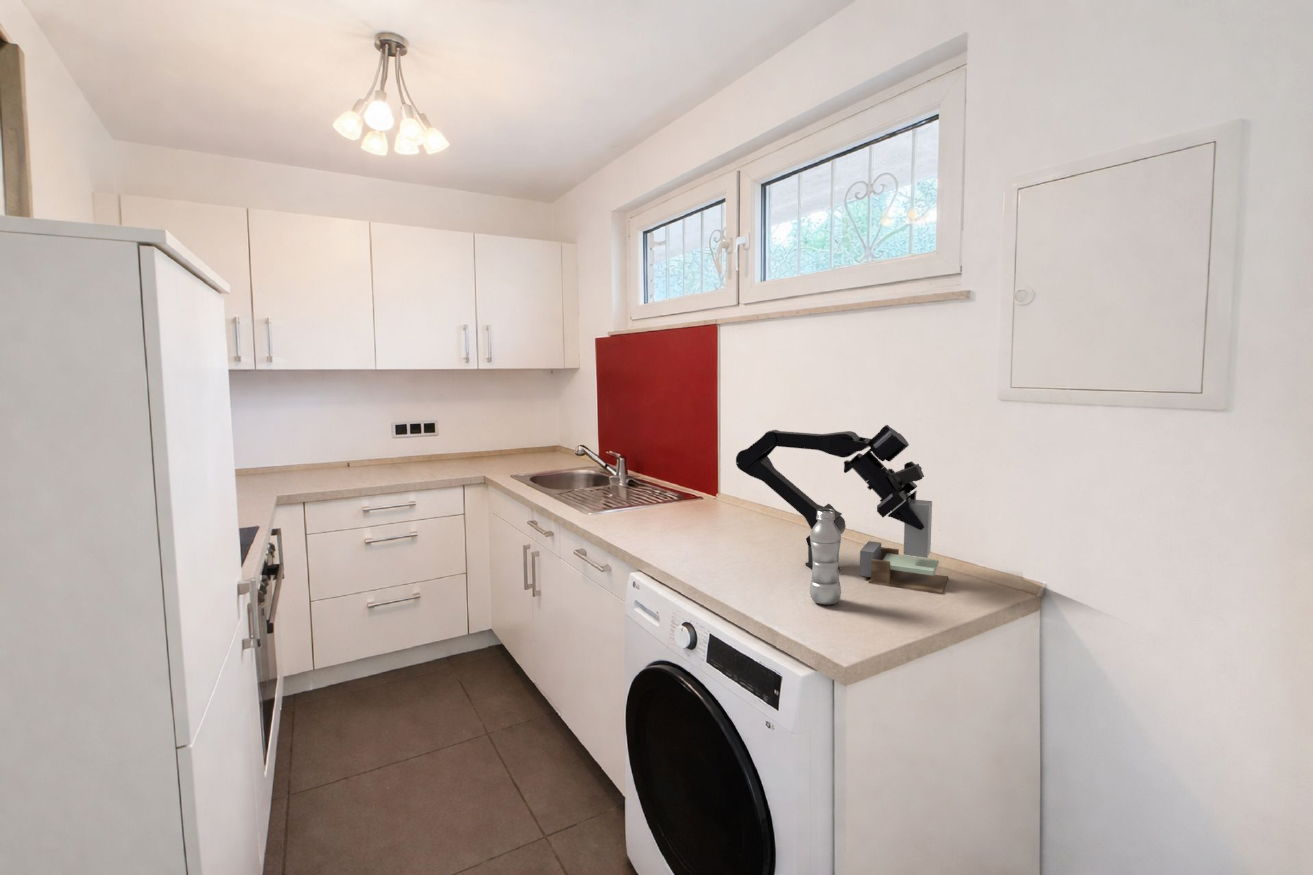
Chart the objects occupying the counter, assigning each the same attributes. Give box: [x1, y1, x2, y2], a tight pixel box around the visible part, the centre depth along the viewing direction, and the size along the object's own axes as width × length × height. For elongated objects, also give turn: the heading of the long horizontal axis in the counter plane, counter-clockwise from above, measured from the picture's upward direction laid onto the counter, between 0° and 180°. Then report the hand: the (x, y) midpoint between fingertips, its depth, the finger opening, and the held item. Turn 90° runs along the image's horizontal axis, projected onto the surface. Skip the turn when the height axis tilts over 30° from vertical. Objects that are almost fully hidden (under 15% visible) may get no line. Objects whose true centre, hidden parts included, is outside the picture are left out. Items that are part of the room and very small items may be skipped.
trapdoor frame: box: [868, 546, 949, 595], centre depth 142 cm, size 16×12×6 cm
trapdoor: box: [859, 540, 940, 578], centre depth 143 cm, size 16×9×6 cm, turn 59°
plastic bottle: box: [809, 509, 842, 606], centre depth 129 cm, size 6×7×20 cm
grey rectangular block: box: [903, 499, 933, 558], centre depth 140 cm, size 5×5×12 cm
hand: (924, 525), depth 139 cm, fingers closed on grey rectangular block, 5 cm apart
